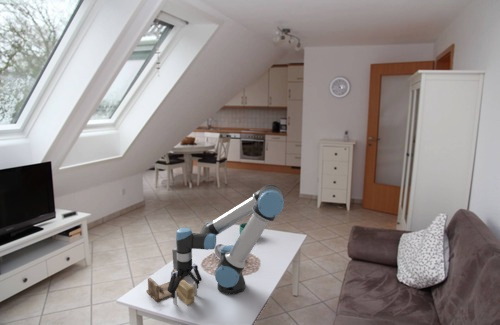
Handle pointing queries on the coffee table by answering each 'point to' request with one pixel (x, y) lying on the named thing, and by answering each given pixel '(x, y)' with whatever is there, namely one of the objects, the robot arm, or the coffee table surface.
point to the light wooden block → (185, 292)
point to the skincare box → (174, 257)
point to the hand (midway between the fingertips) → (185, 298)
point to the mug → (242, 227)
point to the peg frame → (159, 289)
